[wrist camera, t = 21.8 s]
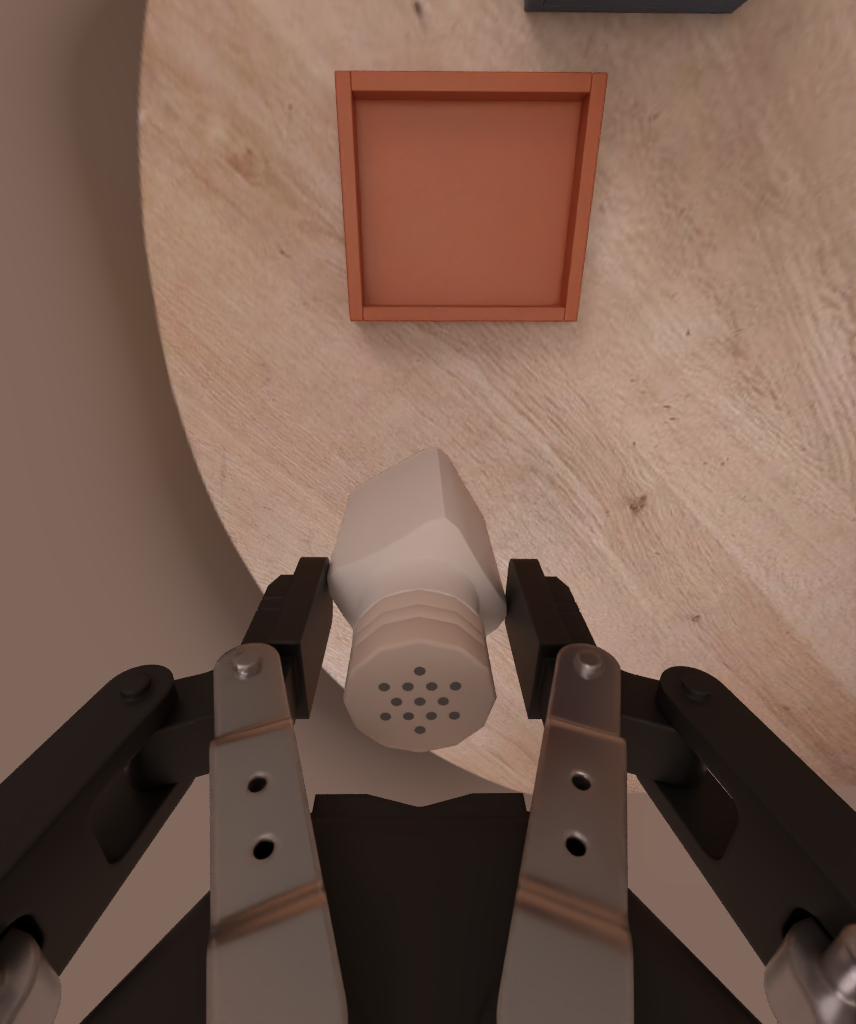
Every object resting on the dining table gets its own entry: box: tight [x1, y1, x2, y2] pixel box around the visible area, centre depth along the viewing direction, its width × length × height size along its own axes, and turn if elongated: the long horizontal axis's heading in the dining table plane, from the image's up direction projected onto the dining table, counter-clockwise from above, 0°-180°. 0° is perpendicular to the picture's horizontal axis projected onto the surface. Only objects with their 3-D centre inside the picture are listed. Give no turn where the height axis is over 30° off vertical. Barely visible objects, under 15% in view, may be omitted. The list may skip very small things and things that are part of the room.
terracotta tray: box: [335, 71, 608, 321], centre depth 28 cm, size 14×12×2 cm
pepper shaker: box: [327, 447, 507, 752], centre depth 15 cm, size 4×4×10 cm
